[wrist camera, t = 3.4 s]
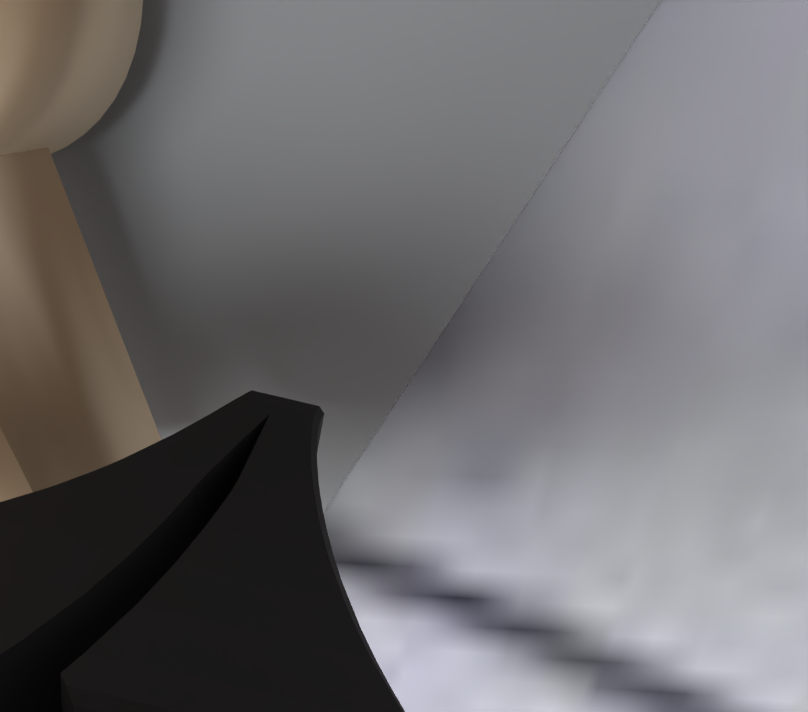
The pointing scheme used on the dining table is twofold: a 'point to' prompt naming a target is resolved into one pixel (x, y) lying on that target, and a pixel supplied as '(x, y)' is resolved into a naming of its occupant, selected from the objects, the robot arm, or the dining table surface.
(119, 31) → the beige rounded piece
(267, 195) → the base plate
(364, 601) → the dining table surface
